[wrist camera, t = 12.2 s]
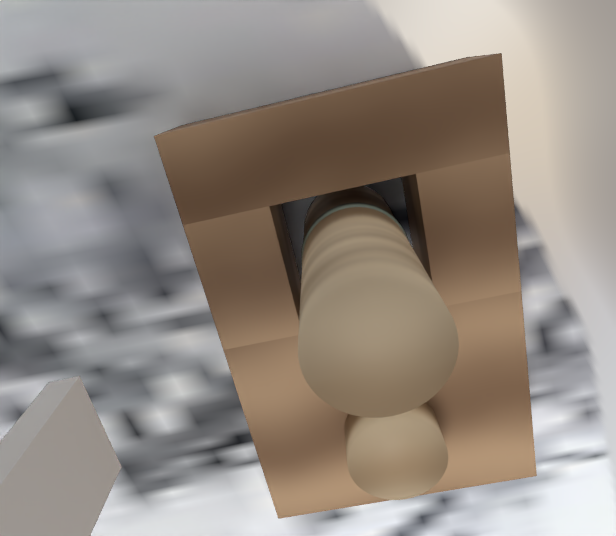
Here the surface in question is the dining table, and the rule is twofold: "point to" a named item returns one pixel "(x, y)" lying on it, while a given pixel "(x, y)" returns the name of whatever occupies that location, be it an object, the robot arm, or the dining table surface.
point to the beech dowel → (369, 310)
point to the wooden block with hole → (426, 243)
